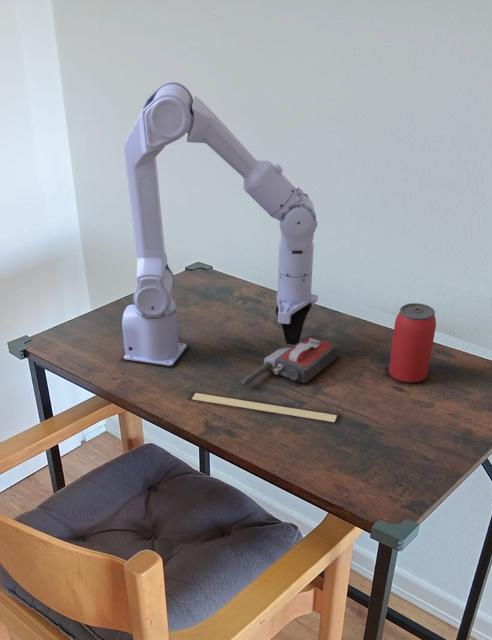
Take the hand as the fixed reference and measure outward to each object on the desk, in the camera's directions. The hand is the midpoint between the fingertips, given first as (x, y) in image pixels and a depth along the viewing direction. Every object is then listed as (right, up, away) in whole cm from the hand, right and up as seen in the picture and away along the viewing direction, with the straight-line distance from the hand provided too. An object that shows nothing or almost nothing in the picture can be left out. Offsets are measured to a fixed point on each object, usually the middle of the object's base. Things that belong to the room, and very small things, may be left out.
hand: (292, 343), depth 135 cm
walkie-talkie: (-1, -6, -4) cm, 7 cm away
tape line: (-6, -13, -13) cm, 19 cm away
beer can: (+19, -7, -6) cm, 21 cm away
